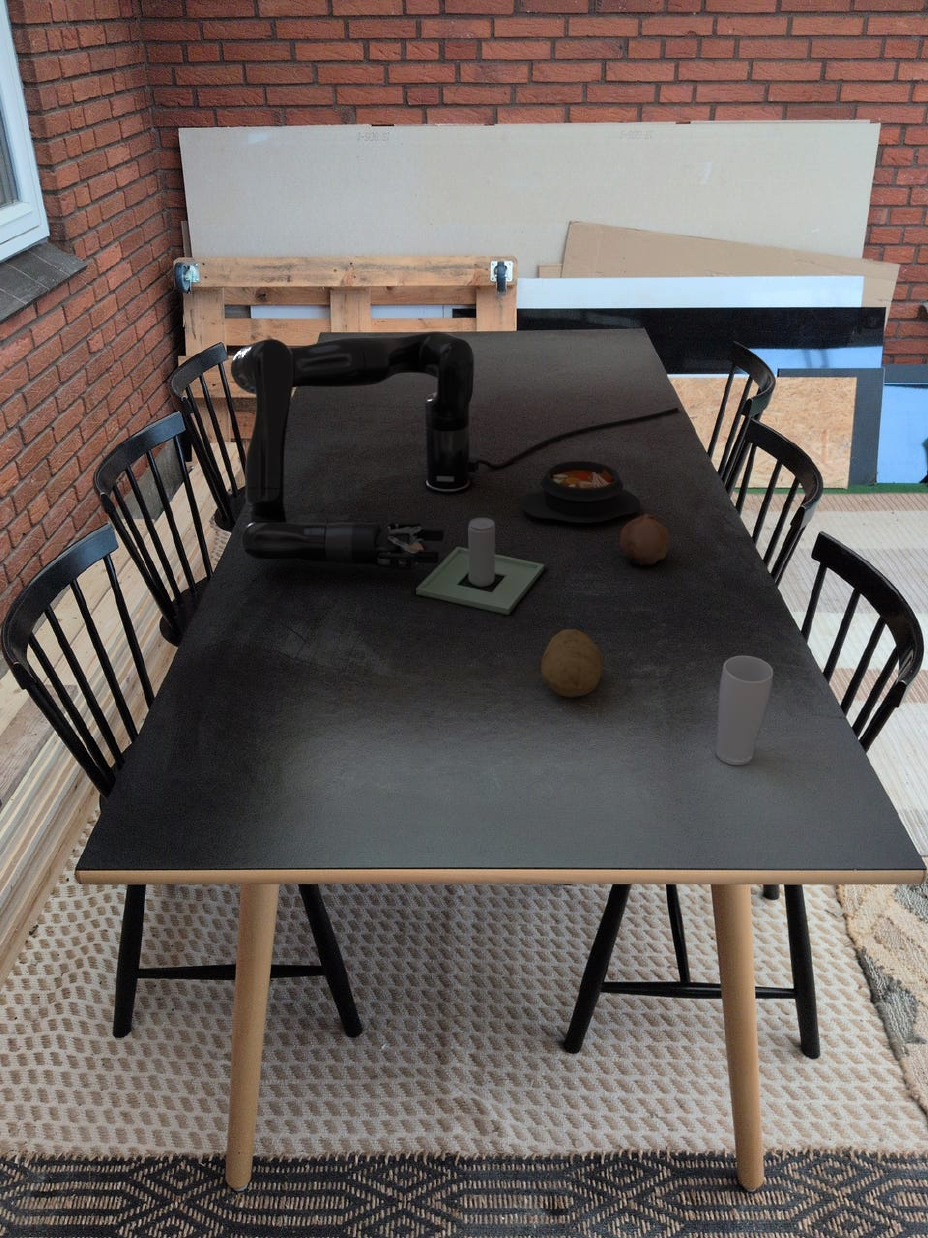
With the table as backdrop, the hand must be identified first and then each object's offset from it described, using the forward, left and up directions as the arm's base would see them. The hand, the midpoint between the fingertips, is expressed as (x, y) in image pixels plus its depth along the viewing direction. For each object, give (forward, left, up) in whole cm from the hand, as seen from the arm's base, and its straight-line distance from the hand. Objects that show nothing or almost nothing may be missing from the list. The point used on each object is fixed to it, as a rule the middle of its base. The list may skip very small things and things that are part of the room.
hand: (441, 545), depth 188 cm
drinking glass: (+30, +60, -7) cm, 67 cm away
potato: (+23, +33, -7) cm, 41 cm away
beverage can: (-2, +7, -7) cm, 10 cm away
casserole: (-38, +14, -7) cm, 42 cm away
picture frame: (-2, +7, -7) cm, 10 cm away
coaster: (-6, -13, -7) cm, 16 cm away
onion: (-22, +32, -7) cm, 40 cm away
